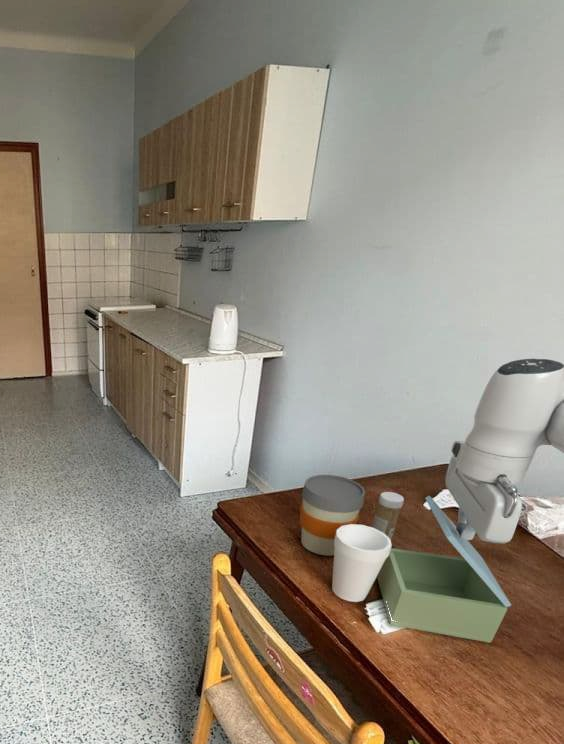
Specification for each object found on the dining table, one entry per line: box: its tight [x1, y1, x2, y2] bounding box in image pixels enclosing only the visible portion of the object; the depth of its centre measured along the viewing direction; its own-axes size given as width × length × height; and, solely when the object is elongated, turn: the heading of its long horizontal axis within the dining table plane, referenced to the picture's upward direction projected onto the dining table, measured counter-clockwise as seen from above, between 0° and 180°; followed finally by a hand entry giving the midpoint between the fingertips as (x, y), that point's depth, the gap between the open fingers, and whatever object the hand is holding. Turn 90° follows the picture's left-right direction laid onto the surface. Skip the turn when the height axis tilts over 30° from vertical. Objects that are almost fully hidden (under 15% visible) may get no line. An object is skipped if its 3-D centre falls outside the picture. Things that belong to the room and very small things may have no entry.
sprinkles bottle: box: [371, 491, 405, 540], centre depth 104 cm, size 5×5×14 cm
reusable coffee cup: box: [299, 474, 366, 557], centre depth 106 cm, size 13×13×15 cm
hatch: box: [424, 495, 512, 608], centre depth 83 cm, size 17×14×1 cm
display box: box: [376, 547, 509, 644], centre depth 88 cm, size 16×14×8 cm
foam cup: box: [331, 523, 393, 603], centre depth 92 cm, size 10×9×13 cm
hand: (463, 535), depth 82 cm, fingers closed
